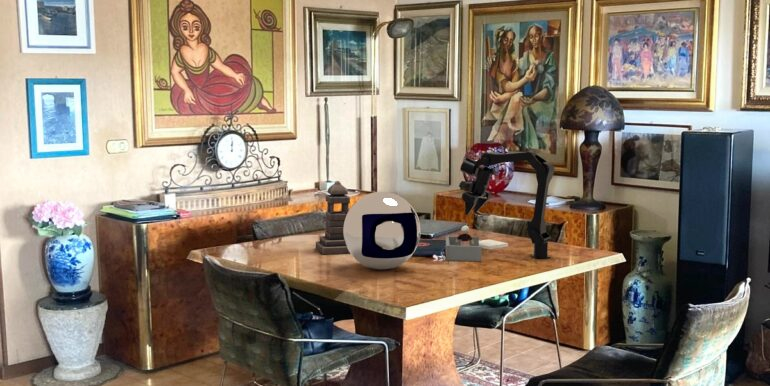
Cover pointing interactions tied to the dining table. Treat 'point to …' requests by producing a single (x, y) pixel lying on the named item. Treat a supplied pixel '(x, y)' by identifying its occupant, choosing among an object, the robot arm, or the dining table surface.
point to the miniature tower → (335, 222)
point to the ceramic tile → (492, 244)
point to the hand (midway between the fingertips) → (470, 213)
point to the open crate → (463, 250)
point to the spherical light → (381, 230)
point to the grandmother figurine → (465, 237)
